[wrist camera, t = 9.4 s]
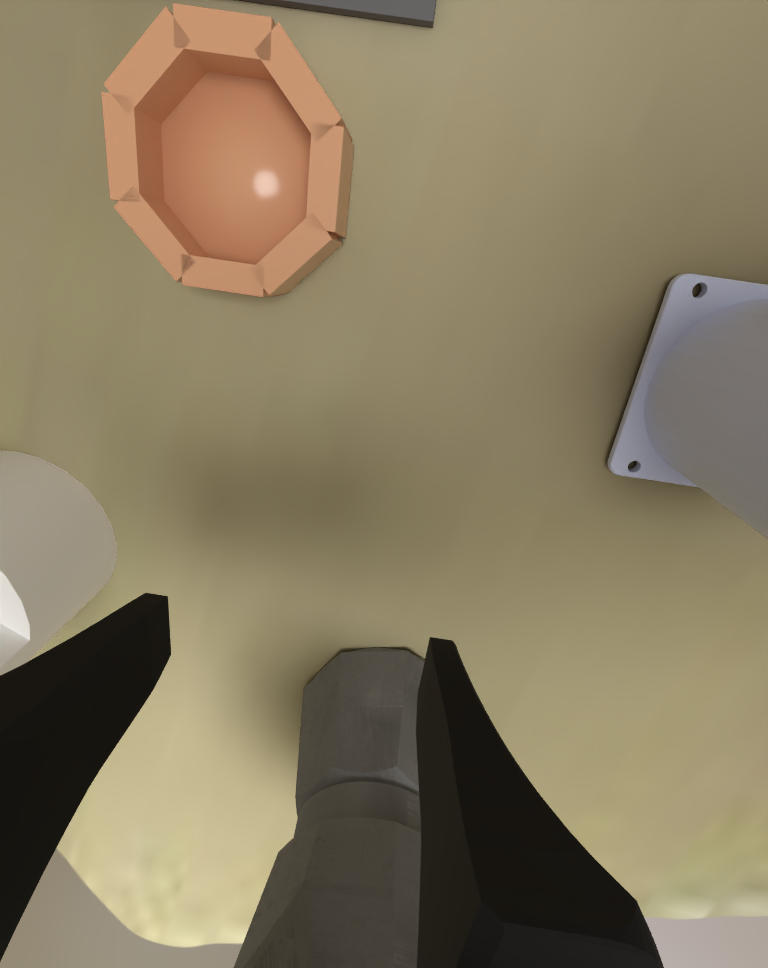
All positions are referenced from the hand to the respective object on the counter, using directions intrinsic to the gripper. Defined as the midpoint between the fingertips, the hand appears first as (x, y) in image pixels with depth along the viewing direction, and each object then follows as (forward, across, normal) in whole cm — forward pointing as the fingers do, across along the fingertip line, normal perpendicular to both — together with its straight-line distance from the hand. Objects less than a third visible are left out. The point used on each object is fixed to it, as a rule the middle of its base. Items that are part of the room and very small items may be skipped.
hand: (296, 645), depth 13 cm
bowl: (+10, +5, -12) cm, 17 cm away
